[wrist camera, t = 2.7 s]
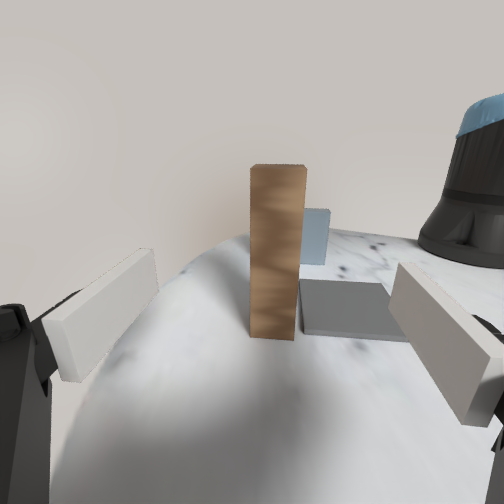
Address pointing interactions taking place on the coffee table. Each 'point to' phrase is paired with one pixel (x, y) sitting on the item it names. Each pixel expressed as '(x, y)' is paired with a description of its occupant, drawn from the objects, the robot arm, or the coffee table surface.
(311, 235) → the tile
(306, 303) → the plate
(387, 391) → the coffee table surface
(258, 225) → the tall wooden pillar
